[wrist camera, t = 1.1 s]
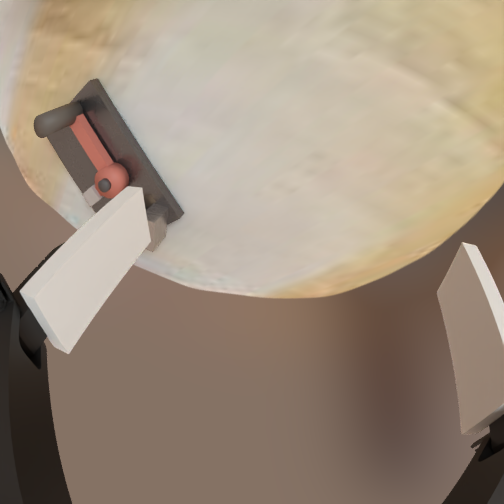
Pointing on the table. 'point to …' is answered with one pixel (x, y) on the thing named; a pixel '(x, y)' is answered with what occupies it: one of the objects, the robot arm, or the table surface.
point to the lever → (86, 150)
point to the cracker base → (116, 159)
